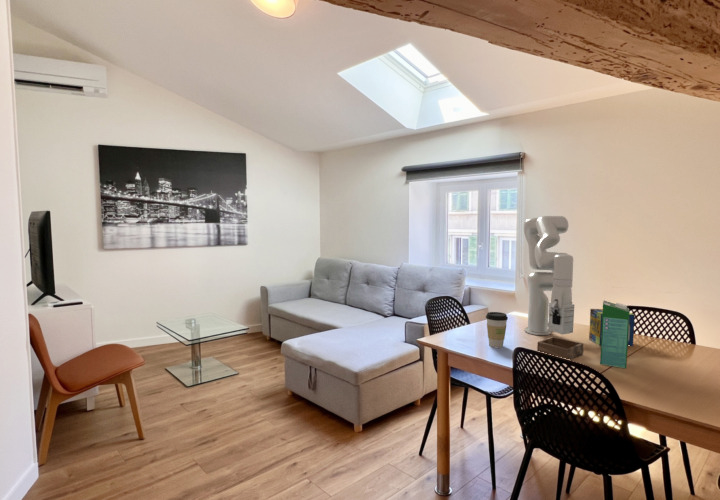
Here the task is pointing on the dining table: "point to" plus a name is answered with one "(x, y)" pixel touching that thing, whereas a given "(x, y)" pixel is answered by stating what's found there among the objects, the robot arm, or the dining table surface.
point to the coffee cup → (496, 328)
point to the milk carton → (614, 334)
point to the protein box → (597, 326)
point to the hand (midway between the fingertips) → (561, 322)
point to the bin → (561, 347)
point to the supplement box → (562, 320)
